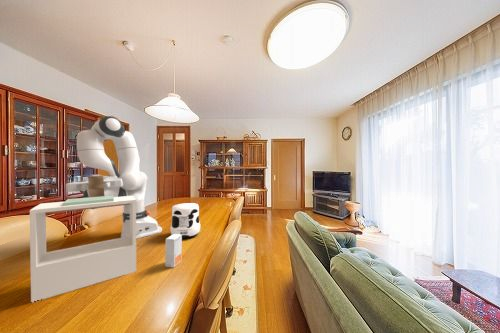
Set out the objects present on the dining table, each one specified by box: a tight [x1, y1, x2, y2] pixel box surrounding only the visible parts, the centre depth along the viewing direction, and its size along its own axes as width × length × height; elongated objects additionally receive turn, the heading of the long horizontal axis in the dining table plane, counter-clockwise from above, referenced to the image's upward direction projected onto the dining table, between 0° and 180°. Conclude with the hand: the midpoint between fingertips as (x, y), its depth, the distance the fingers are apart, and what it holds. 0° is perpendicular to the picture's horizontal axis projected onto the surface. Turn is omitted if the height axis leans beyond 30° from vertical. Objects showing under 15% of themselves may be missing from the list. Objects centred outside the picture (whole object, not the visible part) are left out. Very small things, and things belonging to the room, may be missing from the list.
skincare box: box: [164, 234, 183, 268], centre depth 82 cm, size 6×4×12 cm
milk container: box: [170, 202, 201, 239], centre depth 115 cm, size 17×17×18 cm
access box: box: [29, 196, 137, 303], centre depth 72 cm, size 28×12×30 cm, turn 127°
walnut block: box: [87, 174, 104, 197], centre depth 83 cm, size 5×5×10 cm
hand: (96, 186), depth 82 cm, fingers closed on walnut block, 5 cm apart
